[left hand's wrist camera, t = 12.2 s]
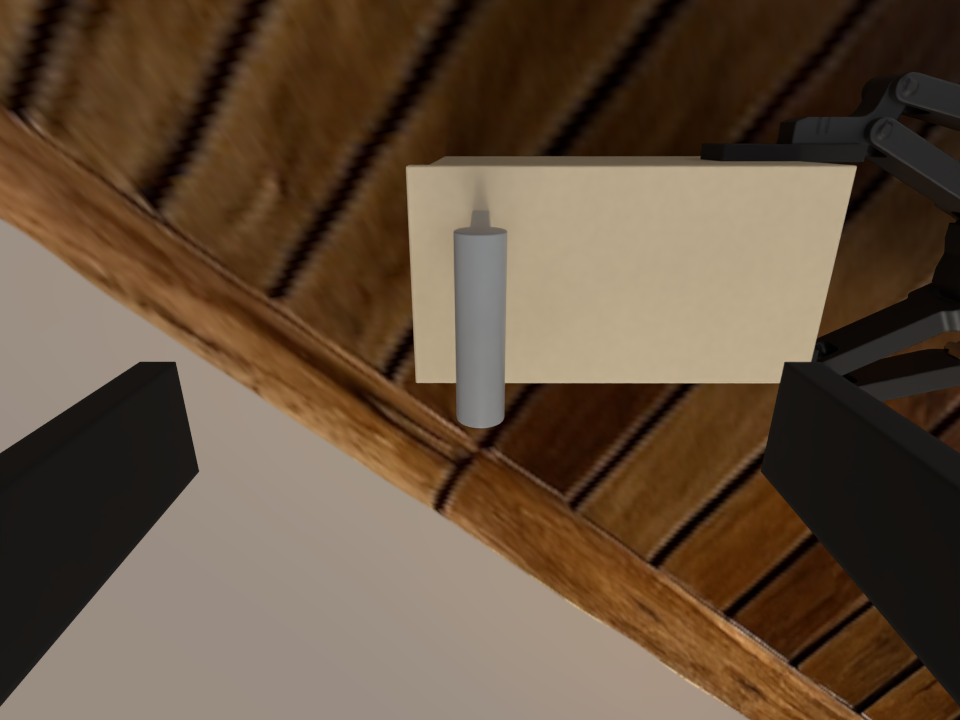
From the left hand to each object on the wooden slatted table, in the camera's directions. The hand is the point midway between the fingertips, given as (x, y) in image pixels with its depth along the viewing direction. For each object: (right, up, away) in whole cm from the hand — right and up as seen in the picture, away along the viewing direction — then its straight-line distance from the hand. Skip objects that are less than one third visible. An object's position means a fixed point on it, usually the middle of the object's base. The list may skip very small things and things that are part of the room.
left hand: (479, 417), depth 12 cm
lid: (+6, +5, +12) cm, 14 cm away
